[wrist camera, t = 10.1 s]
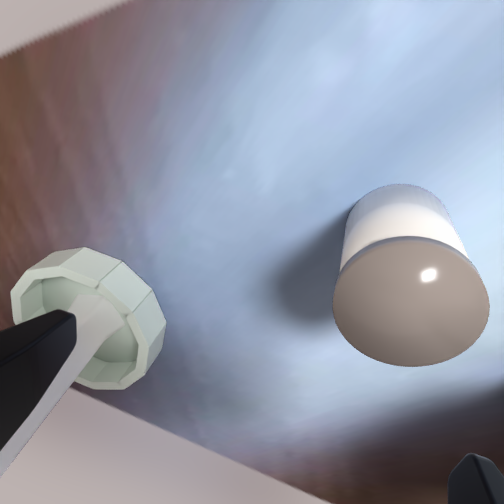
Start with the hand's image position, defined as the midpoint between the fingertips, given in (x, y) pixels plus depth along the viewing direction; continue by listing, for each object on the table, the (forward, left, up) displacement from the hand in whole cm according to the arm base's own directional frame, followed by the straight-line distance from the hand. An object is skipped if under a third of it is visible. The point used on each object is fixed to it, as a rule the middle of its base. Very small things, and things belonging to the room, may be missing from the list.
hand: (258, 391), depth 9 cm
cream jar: (-4, +1, -13) cm, 14 cm away
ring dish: (+12, +14, -13) cm, 22 cm away
